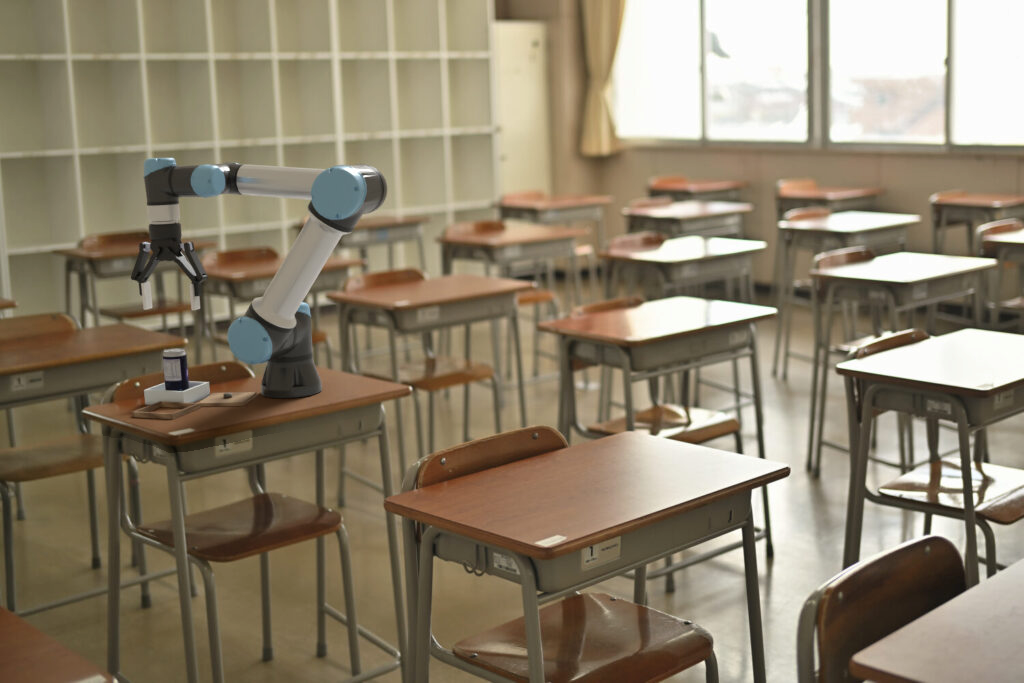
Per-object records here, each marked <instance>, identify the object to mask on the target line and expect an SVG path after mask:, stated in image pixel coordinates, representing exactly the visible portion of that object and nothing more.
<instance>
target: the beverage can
mask: <svg viewBox="0 0 1024 683" xmlns="http://www.w3.org/2000/svg"><path fill="white" fill-rule="evenodd" d="M162 364H163V376H164V378H163V379H164V383H165V390H168V391H185V390H187V389H189V381H190V380H189V369H188V368H189V367H188V356H187V352H186V350H185V349H184V348H180V347H179V348H170V349H169V348H168V349H164V350H163V354H162Z"/></svg>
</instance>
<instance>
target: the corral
mask: <svg viewBox="0 0 1024 683" xmlns="http://www.w3.org/2000/svg"><path fill="white" fill-rule="evenodd" d="M159 408H178V409H180V408H181V409H180V410H177V411H174V412H173V413H168V412H154V410H157V409H159ZM200 409H201V406H200V403H199V402H194V403H186V402H167V401H159V402H157V403H154V404H151V405H149V404H148V405H145V406H144V407H141V408H138V409H136V410H133V411H131V417H132V418H143V419H149V418H150V419H162V420H163V419H165V420H175V419H177V418H180V417H182V416H184V415H187V414H190V413H192V412H194V411H197V410H200ZM152 411H153V412H152Z"/></svg>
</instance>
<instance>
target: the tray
mask: <svg viewBox="0 0 1024 683" xmlns="http://www.w3.org/2000/svg"><path fill="white" fill-rule="evenodd" d="M143 393H144V394H143V395H144V405H148V406H149V405H151V404H154V403H157V402H159V401H167V402H186V403H198V402H200V401H202V400H203V399H205V398H206V397H208V396H209V395H210V394H211V390H210V381H195V380H194V381H193V380H192V381H191V380H189V389H187V390H185V391H168V390H165V382H162V383H160V384H156V385H154V386H151V387H148V388H146V389H144V390H143Z"/></svg>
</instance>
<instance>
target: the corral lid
mask: <svg viewBox="0 0 1024 683" xmlns="http://www.w3.org/2000/svg"><path fill="white" fill-rule="evenodd" d="M255 397H257V391H254V392H253V391H249V392H247V391H245V392H238V391H237V392H236V391H234V392H211V393H210V395H209V396H208V397H206V398H204V399H202V400H199V401H198V403H200V407H237V406H238V407H243V406H245V405H247V404H248V403H249V402H250V401H252V400H253V399H254V398H255Z"/></svg>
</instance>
